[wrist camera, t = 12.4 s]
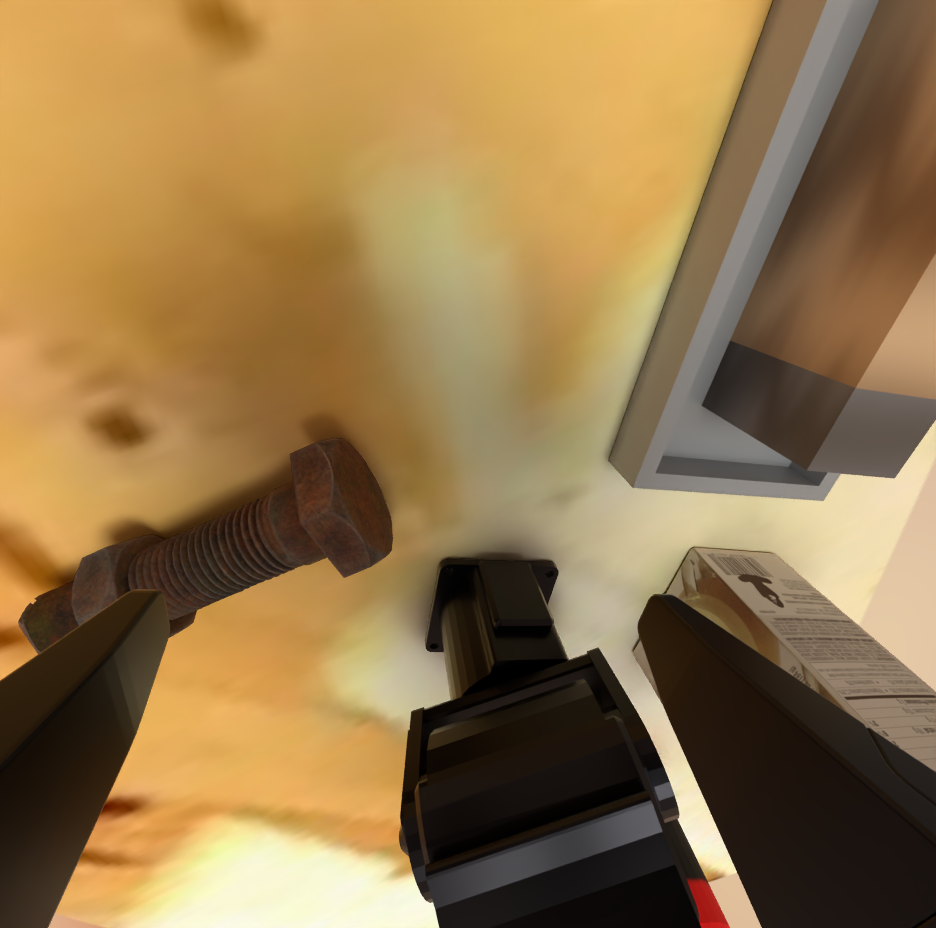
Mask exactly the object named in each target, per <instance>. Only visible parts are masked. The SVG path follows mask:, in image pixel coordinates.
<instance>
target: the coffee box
mask: <svg viewBox="0 0 936 928" xmlns="http://www.w3.org/2000/svg"><path fill="white" fill-rule="evenodd" d="M666 594H671V595H674V596H676V597H677V598H679V599H680V600H682V601H683V602H685V603H686V604H688V605H689V606H691V607H692V608H693V609H695V610H696V611H698V612H699V613H701V614H702V615H704V616H705V617H707V618H708V619H710V620H711V621H713V622H714V623H716V624H717V625H719V626H720V627H722V628H723V629H725V630H726V631H727V632H729V633H730V634H732V635H733V636H735V637H736V638H738V639H739V640H741V641H742V642H744V643H745V644H747V645H748V646H750V647H751V648H753V649H754V650H756V651H757V652H758V653H760V654H761V655H763V656H764V657H766V658H767V659H769V660H770V661H772V662H773V663H775V664H776V665H778V666H779V667H781V668H782V669H784V670H785V671H787V672H788V673H790V674H791V675H792V676H794V677H795V678H797V679H798V680H800V681H801V682H803V683H804V684H806V685H807V686H809V687H810V688H812V689H813V690H815V691H816V692H818V693H819V694H821V695H822V696H824V697H825V698H826V699H828V700H829V701H831V702H832V703H834V704H835V705H837V706H838V707H840V708H841V709H843V710H844V711H846V712H847V713H849V714H850V715H852V716H853V717H855V718H856V719H858V720H859V721H860V722H862V723H863V724H864V725H865V726H866V728H867V727H868V728H871V729H872V730H874V731H875V732H877V733H878V734H880V735H881V736H883V737H884V738H886V739H887V740H889V741H890V742H892V743H893V744H894V745H896V746H898V747H899V748H901V749H902V750H904V751H905V752H907V753H908V754H910V755H911V756H913V757H914V758H916V759H917V760H919V761H920V762H922V763H923V764H925V765H926V766H928V767H929V768H931V769H932V770H934V771H935V772H936V692H935V691H934V690H933V689H932V688H931V687H929V686H928V685H927V684H926V683H925V682H924V681H922V680H921V679H920V678H919V677H918V676H917V675H916V674H914V673H913V672H912V671H911V670H910V669H908V668H907V667H906V666H905V665H904V664H903V663H901V662H900V661H899V660H898V659H897V658H896V657H895V656H894V655H892V654H891V653H890V652H889V651H888V650H887V649H885V648H884V647H883V646H882V645H880V643H878V642H877V641H876V640H875V639H874V638H873V637H871V636H870V635H869V634H868V633H867V632H865V631H864V630H863V629H862V628H861V627H860V626H859V625H858V624H856V623H855V622H854V621H853V620H851V619H850V618H849V617H848V616H847V615H845V614H844V613H843V612H842V611H841V610H840V609H839V608H838V607H836V606H835V605H834V604H833V603H832V602H831V601H830V600H828V599H827V598H826V597H825V596H824V595H822V594H821V593H820V592H819V591H817V590H816V589H815V588H814V587H813V586H812V585H810V584H809V583H808V582H807V581H806V580H805V579H804V578H802V577H801V576H800V575H799V574H798V573H797V572H796V571H795V570H794V569H792V568H791V567H790V566H789V565H788V564H787V563H785V562H784V561H783V560H782V559H781V558H779V557H778V556H777V555H776V554H773V553H762V552H749V551H736V550H722V549H708V548H692V549H691V550H690V551H689V553H688V555H687V557H686V558H685V560H684V562H683V564H682V566H681V567H680V569H679V571H678V573H677V575H676V577H675V578H674V580H673V582H672V584H671V586H670V587H669V589H668V591H667V593H666ZM633 654H634V656H635V658H636V660H637V661H638V663H639V665H640V666H641V668H642V670H643V672H644V673H645V675H646V677H647V678H648V680H649V682H650V683H651V685H652V687H653V689H654V690H655V692H656V694H657V696H658V697H659V699H660V701H661V698H660V696H659V693H658V690H657V687H656V684H655V681H654V678H653V675H652V672H651V669H650V666H649V663H648V661H647V658H646V655H645V652H644V649H643V646H642V643H641V640H640V641H639V643H638V645H637V647H636V648H635V650H634V652H633ZM661 703H662V701H661Z"/></svg>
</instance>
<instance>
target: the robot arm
mask: <svg viewBox="0 0 936 928" xmlns="http://www.w3.org/2000/svg"><path fill="white" fill-rule="evenodd" d="M447 568H452V569H451V570H446V569H447ZM549 570H551V571H549ZM547 571H549V572H547ZM557 576H558V569H557V567H556V565H555V564H554V563H553V562H542V561H505V560H467V559H446V560H444V561H442V562H441V563H440V565H439V568H438V574H437V579H436V584H435V590H434V595H433V601H432V606H431V611H430V617H429V622H428V627H427V633H426V638H425V645H426V649H427V651H430V652H444V655H445V662H446V669H447V676H448V683H449V690H450V698H451V700H450V701H447V702H444V703H441V704H438V705H435V706H432V707H429V708H427V709H425V708H424V707H423V708H420V709H417V710H414V711H412V712H411V721H410V730H408V737H407V748H406V759H405V770H404V781H403V791H402V802H401V813H400V819H401V827H400V831H399V842H400V847H401V849H402V851H403V852H404V853H406V854H407V855H408V856H409V858H410V862H411V867H412V871H413V874H414V877H415V880H416V883H417V886H418V888H419V890H420V893H421V895H422V896H423V897H424V899H425V900H426V901H428V902H430V903H431V902H433V903H434V907H435V910H436V915H437V919H438V924H439V928H701V925H700V918H699V912H698V908H697V905H696V902H695V900H694V897H693V894H692V892H691V889H690V887H689V884H688V881H687V879H686V876H685V874H684V871H683V868H682V866H681V863H680V861H679V858H678V856H677V853H676V850H675V848H674V845H673V843H672V840H671V837H670V835H669V832H668V830H667V827H666V825H665V823H666V822H669V821H672V820H675V819H678V818H679V810H678V805H677V802H676V799H675V795H674V793H673V790H672V787H671V784H670V781H669V779H668V776H667V774H666V771H665V769H664V766H663V764H662V762H661V759H660V757H659V755H658V752H657V750H656V748H655V746H654V744H653V742H652V740H651V737H650V735H649V733H648V731H647V729H646V727H645V725H644V724H643V722H642V720H641V718H640V716H639V715H638V713H637V711H636V709H635V708H634V706H633V704H632V703H631V701H630V699H629V698H628V696H627V694H626V693H625V691H624V689H623V688H622V686H621V684H620V683H619V681H618V679H617V678H616V676H615V674H614V673H613V671H612V669H611V668H610V666H609V664H608V663H607V661H606V659H605V658H604V656H603V654H602V652H601V651H600V649H599V648H595V649H593V650H590V651H587V654H585V655H582V656H579V657H576V658H573V659H570V660H569V659H568V657H567V654H566V652H565V650H564V647H563V645H562V642H561V640H560V638H559V635H558V633H557V630H556V628H555V626H554V620H553V617H552V615H551V613H550V610H549V608H548V602H549V599H550V596H551V593H552V591H553V588H554V585H555V582H556V579H557ZM169 632H170V624H169V619H168V613H167V607H166V602H165V597H164V594H163V592H162V591H160V590H149V589H136V590H132V591H130V592H128V593H126V594H125V595H123V596H122V597H120V598H119V599H118V600H116V601H115V602H113V603H112V604H110V605H109V606H107V607H106V608H105V609H103V610H102V611H100V612H99V613H97V614H96V615H94V616H93V617H92V618H90V619H89V620H87V621H86V622H84V623H83V624H81V625H80V626H79V627H77V628H76V629H74V630H73V631H71V632H70V633H68V634H67V635H65V636H64V637H63V638H61V639H60V640H58V641H57V642H55V643H54V644H52V645H51V646H50V647H48V648H47V649H45V650H44V651H42V652H41V653H39V654H38V655H37V656H35V657H34V658H32V659H31V660H29V661H28V662H26V663H25V664H24V665H22V666H21V667H19V668H18V669H16V670H15V671H13V672H12V673H11V674H9V675H8V676H6V677H5V678H3V679H2V680H0V928H48V927H49V925H50V923H51V920H52V918H53V916H54V914H55V912H56V909H57V907H58V905H59V903H60V901H61V899H62V896H63V894H64V892H65V890H66V888H67V885H68V883H69V881H70V879H71V877H72V874H73V872H74V870H75V868H76V866H77V864H78V861H79V859H80V857H81V855H82V853H83V850H84V848H85V846H86V844H87V842H88V840H89V837H90V835H91V833H92V831H93V829H94V826H95V824H96V822H97V820H98V818H99V815H100V813H101V811H102V809H103V807H104V805H105V802H106V800H107V798H108V796H109V794H110V791H111V789H112V787H113V785H114V783H115V781H116V778H117V776H118V774H119V772H120V770H121V767H122V765H123V763H124V761H125V759H126V757H127V754H128V752H129V750H130V747H131V745H132V743H133V740H134V738H135V736H136V733H137V730H138V727H139V725H140V722H141V719H142V716H143V713H144V710H145V707H146V704H147V701H148V698H149V695H150V692H151V689H152V686H153V683H154V680H155V677H156V674H157V671H158V668H159V665H160V662H161V659H162V656H163V653H164V650H165V647H166V644H167V641H168V637H169ZM638 634H639V637H640V640H641V643H642V646H643V649H644V652H645V655H646V658H647V661H648V663H649V666H650V669H651V672H652V675H653V678H654V681H655V684H656V687H657V690H658V693H659V696H660V698H661V701H662V704H663V706H664V709H665V711H666V713H667V716H668V718H669V721H670V723H671V725H672V727H673V730H674V732H675V734H676V736H677V738H678V741H679V743H680V745H681V747H682V750H683V752H684V754H685V756H686V759H687V761H688V763H689V765H690V768H691V770H692V772H693V774H694V777H695V779H696V781H697V783H698V786H699V788H700V790H701V792H702V794H703V797H704V799H705V801H706V803H707V806H708V808H709V810H710V812H711V815H712V817H713V819H714V821H715V824H716V826H717V828H718V830H719V833H720V835H721V837H722V839H723V842H724V844H725V846H726V848H727V851H728V853H729V855H730V857H731V859H732V862H733V864H734V866H735V868H736V871H737V873H738V875H739V877H740V880H741V882H742V884H743V886H744V888H745V891H746V893H747V895H748V898H749V900H750V902H751V904H752V906H753V909H754V911H755V913H756V915H757V918H758V920H759V922H760V924H761V927H762V928H936V772H935V771H934V770H932V769H931V768H929V767H928V766H926V765H925V764H923V763H922V762H920V761H919V760H917V759H916V758H914V757H913V756H911V755H910V754H908V753H907V752H905V751H904V750H902V749H901V748H899V747H898V746H896V745H894V744H893V743H892V742H890V741H889V740H887V739H886V738H884V737H883V736H881V735H880V734H878V733H877V732H875V731H874V730H872V729H871V728H868V727H867V728H866V726H865V725H864V724H863V723H862V722H860V721H859V720H858V719H856V718H855V717H853V716H852V715H850V714H849V713H847V712H846V711H844V710H843V709H841V708H840V707H838V706H837V705H835V704H834V703H832V702H831V701H829V700H828V699H826V698H825V697H824V696H822V695H821V694H819V693H818V692H816V691H815V690H813V689H812V688H810V687H809V686H807V685H806V684H804V683H803V682H801V681H800V680H798V679H797V678H795V677H794V676H792V675H791V674H790V673H788V672H787V671H785V670H784V669H782V668H781V667H779V666H778V665H776V664H775V663H773V662H772V661H770V660H769V659H767V658H766V657H764V656H763V655H761V654H760V653H758V652H757V651H756V650H754V649H753V648H751V647H750V646H748V645H747V644H745V643H744V642H742V641H741V640H739V639H738V638H736V637H735V636H733V635H732V634H730V633H729V632H727V631H726V630H725V629H723V628H722V627H720V626H719V625H717V624H716V623H714V622H713V621H711V620H710V619H708V618H707V617H705V616H704V615H702V614H701V613H699V612H698V611H696V610H695V609H693V608H692V607H691V606H689V605H688V604H686V603H685V602H683V601H682V600H680V599H679V598H677V597H676V596H674V595H671V594H654V595H652V596H651V597H650V598H649V600H648V602H647V604H646V607H645V609H644V611H643V613H642V615H641V617H640V619H639V621H638Z"/></svg>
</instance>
